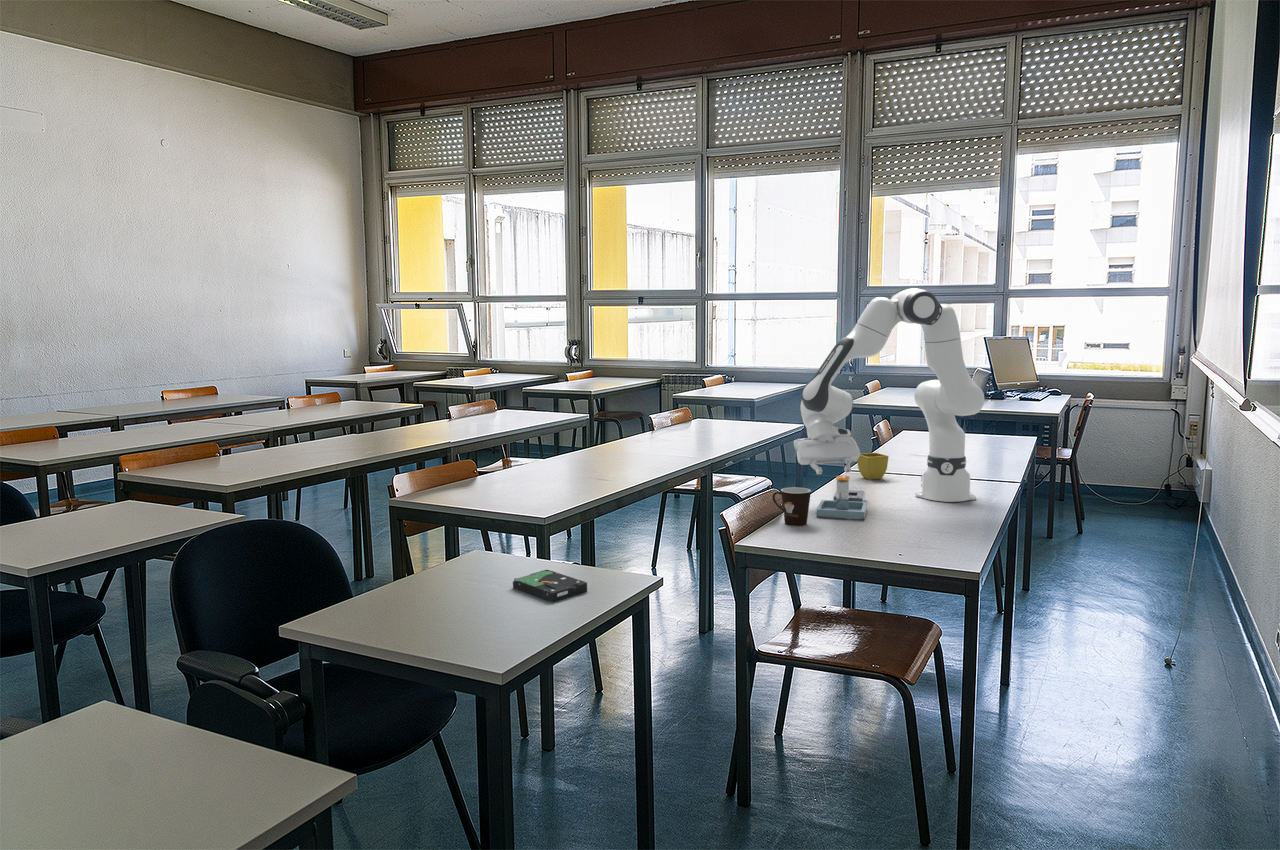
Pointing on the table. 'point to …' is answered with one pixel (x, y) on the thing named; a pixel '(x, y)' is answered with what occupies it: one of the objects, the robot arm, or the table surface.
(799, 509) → the coffee mug
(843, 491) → the orange capped bottle
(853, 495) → the socket block
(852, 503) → the tray
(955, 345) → the robot arm
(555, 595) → the disk drive
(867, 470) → the flower pot
